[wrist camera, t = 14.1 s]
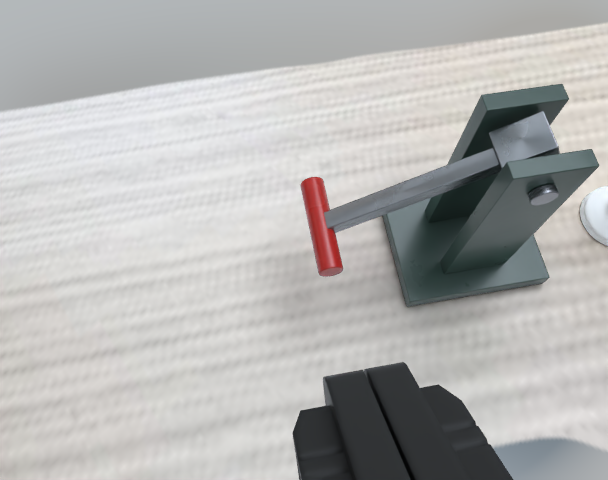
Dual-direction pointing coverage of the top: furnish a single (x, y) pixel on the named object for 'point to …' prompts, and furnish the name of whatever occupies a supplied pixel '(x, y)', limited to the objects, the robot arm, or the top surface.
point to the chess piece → (596, 214)
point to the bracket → (487, 210)
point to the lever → (420, 186)
